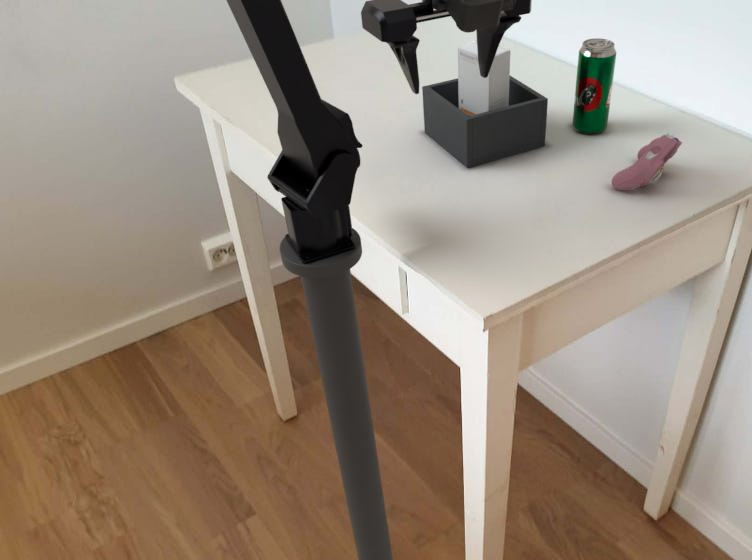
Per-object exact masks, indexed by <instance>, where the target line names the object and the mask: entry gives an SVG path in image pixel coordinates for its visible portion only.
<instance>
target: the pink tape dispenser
mask: <svg viewBox="0 0 752 560" xmlns="http://www.w3.org/2000/svg"><path fill="white" fill-rule="evenodd" d="M682 144H683V142H682V141H681V140H680V139H679V138H678V137H675V135H670V134H669V132H667V133H666V134H663V135H660V136H659V137H657V138H654V139H653V140H651V141H650V142H649V143H648V144H646V145H644V146H643V147H641V148H640V149H639V150H638V152H637V156H636V157H637V161H636V162H635V163H633V164H632V165H630V166H627V167H626V168H624V169H622V170H620V171H618V172H616V173H615V174H614V175H613V176H612V178H611V186H612V188H613V189H615V190H617V191H629V190H633V189H635V188H638V187H640V186H641V187H642V188H645V186H646V185H647V184H649V182H650V180H653V179H654V180H658V179H660V178H661V176H662V174H663V171H664V169H663V167H664V166H665V164H667V162H668V161H669V160H670V159H673V157H674V156H675V155H676V153H678V150H679V148H680V147H681V145H682Z"/></svg>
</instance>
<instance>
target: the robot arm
mask: <svg viewBox="0 0 752 560" xmlns="http://www.w3.org/2000/svg"><path fill="white" fill-rule="evenodd" d="M532 1H533V0H421V1H420V2H415V3H410V4H408V3H407V2H404V1H403V0H366V1H365V2H364V4H363V7H362V9H361V11H360V16H361V26H362V29H363V30H365V31H366V32H368V33H369V34H370V35H371V36H372V37H374V38H376V39H377V40H378V41H380V42H382V43H386V44H387V45H388V46H389V48H390V49H391V51H392V52H393V54H394V56H395V58H396V60H397V62H398V65H399V66H400V69H401V71H402V73H403V75H404V77H405V80H406V81H407V83H408V86H409V88H410V90H411V92H412V93H413V94H415V95H419V94H420V75H419V65H418V55H417V49H418V46H419V44H420V41H421V40H420V39H419V38H418V37H416V36H414V34H415V33H416V31H417V30H418V25H417V24H419V23H424V22H429V21H434V20H439V19H444V18H448V17H451V18H452V20H453V21H454V22H455V24H456V27H457V29H458V30H459V31H462V32H463V33H474V32H476V40H477V50H478V64H479V70H480V75H481V76H482V77H483V78H487V77H488V74H489V71H490V68H491V66H492V63H493V60H494V57H495V54H496V52H497V49H498V46H500V44H501V41H502V39H503V37H504V35H505V33H506V31H507V30H509V29H510V28H511V27H512V26H513V25H514V24H517V23H520V21H521V20H522V16H523V15H528V14H531V12H532ZM226 2H227V5H228V6H229V9H230V11H231V14H232V15H233V17H234V20H235V22H236V24H237V27H238V28H239V30H240V32H241V34H242V36H243V39H244V42H245V43H246V45H247V48H248V49H249V52H250V55H251V56H252V58H253V61H254V62H255V65H256V67H257V69H258V71H259V74H260V76H261V77H262V80H263V81H264V84H265V86H266V88H267V90H268V93H269V95H270V97H271V100H272V101H273V103H274V106H275V107H276V110H277V131H276V133H277V136H278V139H279V143H280V146H281V151H280V153H279V155H278V157H277V159H276V160H275V161H274V164H273V165H272V167H271V169H270V171H269V172H268V174H267V180H268V181H269V183H270V184H271V186H272V187H273V189H274V190H275V191H276V192H278V193H280V194H282V195H283V197H281V198H280V200H281V205H282V210H283V215H284V218H285V223H286V228H287V229H286V230H287V233H286V234H285V235H284V237H285V238H286V241H287V242H288V243H289V245H290V246H291V248H292V249H293V251H294V252H295V253H296V255H297V256H298V258H299V259H300V261H301V262H302V263H303V264H309V263H312V262H315V261H318V260H322V259H325V258H328V257H331V256H334V255H338V254H341V253H344V252H347V251H350V250H353V249H355V243H354V242H353V241H352V240H351V238H350V237H352V235H353V231H352V228H353V225H352V216H351V210H350V205H351V201H352V196H353V191H354V186H355V180H356V174H357V172H358V169H359V168H360V166H361V156H360V155H361V154H360V152H359V149H362V148H363V144H362V142H360V141H359V140H358V138H357V135H356V134H355V130H354V124H353V121H352V118H351V116H350V114H349V113H348V112H346V111H344V110H342V109H341V108H338V107H336V106H335V105H333V104H331V103H330V102H328V101H326V100H325V99H322V97H321V95H320V93H319V90H318V87H317V85H316V83H315V81H314V78H313V75H312V73H311V70H310V68H309V66H308V63H307V61H306V58H305V56H304V54H303V51H302V48H301V46H300V43H299V41H298V39H297V36H296V33H295V31H294V28H293V27H292V24H291V22H290V19H289V16H288V13H287V12H286V9H285V6H284V4H283V2H282V0H226Z"/></svg>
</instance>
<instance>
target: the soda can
mask: <svg viewBox="0 0 752 560" xmlns="http://www.w3.org/2000/svg"><path fill="white" fill-rule="evenodd" d="M615 47H616V46H615V42H614V41H612V40H610V39H607V38H601V37H600V38H599V37H598V38H597V37H596V38H594V37H593V38H588V39H585V40H583V41H582V46H581V47H580V48H579V50H578V56H577V57H578V58H577V67H576V68H577V69H576V77H575V78H576V80H575V91H574V99H573V100H574V103H573V113H572V123H571V124H572V126H573V128H574V129H575V131H577V132H578V133H581V134H585V135H598V134H601V133H602V132H604V131H605V130H606V129H607V128H608V123H609V115H610V107H611V100H612V92H613V83H614V77H615V67H616V60H617V50H616V48H615Z"/></svg>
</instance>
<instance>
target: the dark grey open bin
mask: <svg viewBox="0 0 752 560" xmlns="http://www.w3.org/2000/svg"><path fill="white" fill-rule="evenodd" d="M421 89H422V92H421V93H422V107H423V108H422V110H423V129H424V134H426V135H427V136H428V137H430V138H431V139H432V140H433V141H434V142H435V143H436V144H438V145H439V146H440V147H441V148H442V149H444V150H445V151H446V152H447V153H449V154H450V155H451V156H452V157H453V158H454V159H456V160H457V161H458V162H459V163H461V165H463V166H464V167H465V168H467V169H468V168H472V167H473V168H474V167H476V166H479V165H483V164H487V163H490V162H494V161H496V160H497V161H498V160H500V159H503V158H508V157H511V156H514V155H517V154H522V153H525V152H529V151H532V150H535V149H539V148H542V147H545V146H546V134H547V119H548V103H549V100H548V97H546V96H545V95H543V94H541V93H539V92H538V91H536V90H534V89H533V88H532V87H530V86H528V85H526V84H525V83H523V82H522V81H520V80H519V79H517V78H515V77H513V76H512V75H510V76H509V106H507V107H503V108H499V109H495V110H492V111H488V112H484V113H480V114H476V115H472V116H468V115H467V114H465V113H464V112H462V111H461V110H460V109H459V95H458V77H456V78H453V79H449V80H445V81H440V82H436V83H432V84H428V85H424V86H423V85H422V87H421Z"/></svg>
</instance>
